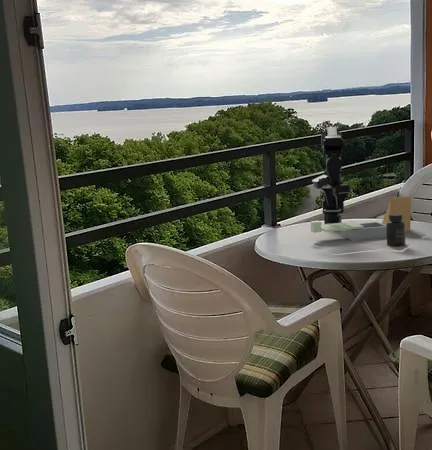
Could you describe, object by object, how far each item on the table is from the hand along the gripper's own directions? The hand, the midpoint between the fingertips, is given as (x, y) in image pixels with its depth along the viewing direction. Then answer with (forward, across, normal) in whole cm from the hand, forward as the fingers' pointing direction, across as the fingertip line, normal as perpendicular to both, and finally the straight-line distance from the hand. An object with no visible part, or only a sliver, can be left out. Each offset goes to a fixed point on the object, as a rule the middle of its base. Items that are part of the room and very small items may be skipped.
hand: (333, 207), depth 257 cm
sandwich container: (+13, -3, +29) cm, 32 cm away
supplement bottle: (+12, +23, +14) cm, 30 cm away
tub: (+12, +5, +11) cm, 17 cm away
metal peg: (+12, +4, +14) cm, 19 cm away
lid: (+8, +6, -2) cm, 10 cm away
